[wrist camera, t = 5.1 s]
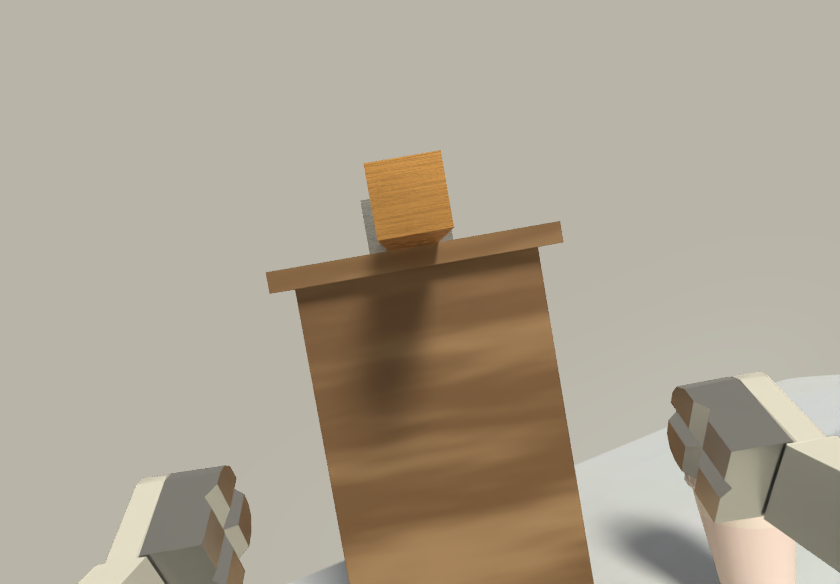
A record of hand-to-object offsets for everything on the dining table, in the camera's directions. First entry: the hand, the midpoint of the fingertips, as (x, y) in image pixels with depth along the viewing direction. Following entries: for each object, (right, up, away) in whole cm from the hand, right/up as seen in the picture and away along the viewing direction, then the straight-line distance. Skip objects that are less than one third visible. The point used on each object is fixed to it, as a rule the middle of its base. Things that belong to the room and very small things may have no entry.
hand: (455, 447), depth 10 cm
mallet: (-1, +5, +19) cm, 20 cm away
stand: (+3, -20, +24) cm, 32 cm away
